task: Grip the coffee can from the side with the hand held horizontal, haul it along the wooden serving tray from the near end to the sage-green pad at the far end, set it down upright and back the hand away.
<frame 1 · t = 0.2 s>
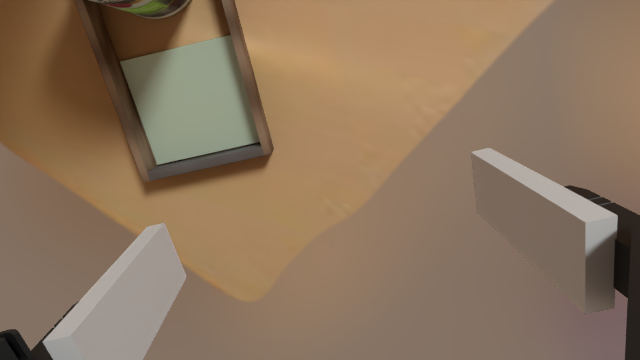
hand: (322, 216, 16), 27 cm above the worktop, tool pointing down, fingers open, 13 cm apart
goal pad: (193, 102, 41), resting in wooden serving tray
wooden serving tray: (172, 36, 39), on the worktop
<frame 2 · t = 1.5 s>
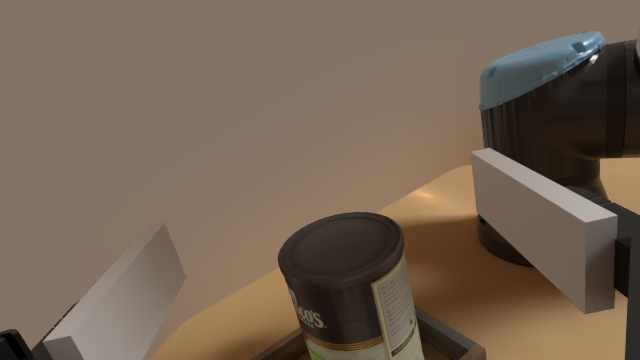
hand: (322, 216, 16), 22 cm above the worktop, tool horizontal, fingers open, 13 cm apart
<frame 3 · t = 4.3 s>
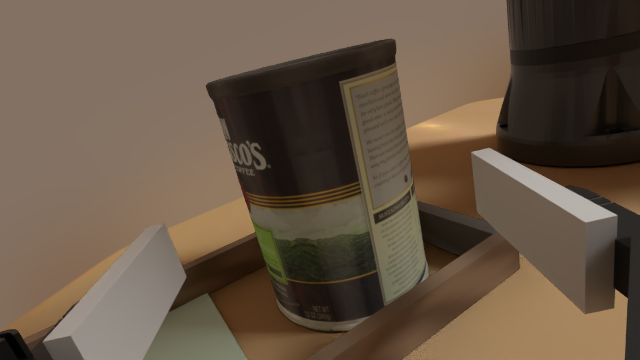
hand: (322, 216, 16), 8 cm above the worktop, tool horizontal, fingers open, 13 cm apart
coffee can: (351, 279, 25), resting in wooden serving tray
wooden serving tray: (255, 332, 22), on the worktop
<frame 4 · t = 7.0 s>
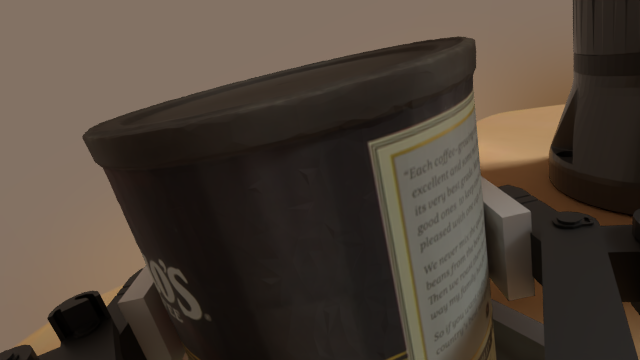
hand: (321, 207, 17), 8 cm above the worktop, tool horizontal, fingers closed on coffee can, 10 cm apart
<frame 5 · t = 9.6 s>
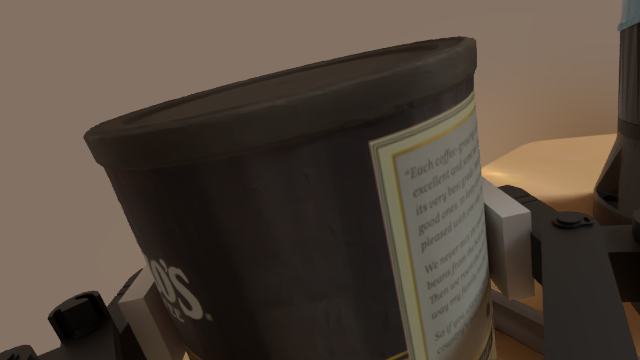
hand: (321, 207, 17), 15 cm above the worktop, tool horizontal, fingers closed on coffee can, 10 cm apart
when the fingers open (9 cm above the worktop, at t = 12.6 s): coffee can drops 1 cm, resting on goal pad.
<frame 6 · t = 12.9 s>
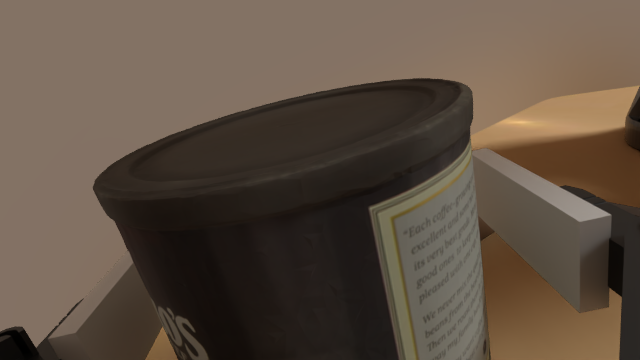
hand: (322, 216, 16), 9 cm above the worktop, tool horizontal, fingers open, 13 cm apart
wooden serving tray: (482, 356, 19), on the worktop
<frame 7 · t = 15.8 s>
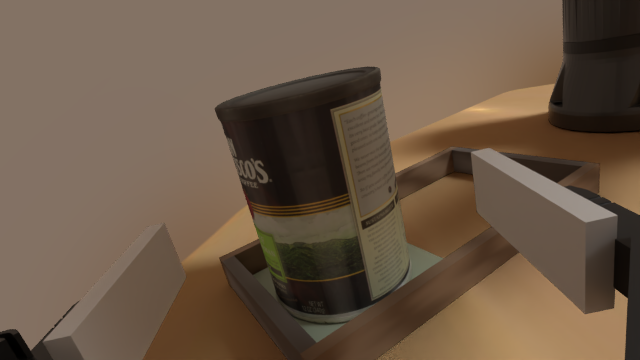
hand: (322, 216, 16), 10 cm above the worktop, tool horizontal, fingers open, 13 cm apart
coffee can: (344, 277, 28), resting on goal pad
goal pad: (346, 277, 28), resting in wooden serving tray
wooden serving tray: (413, 237, 31), on the worktop
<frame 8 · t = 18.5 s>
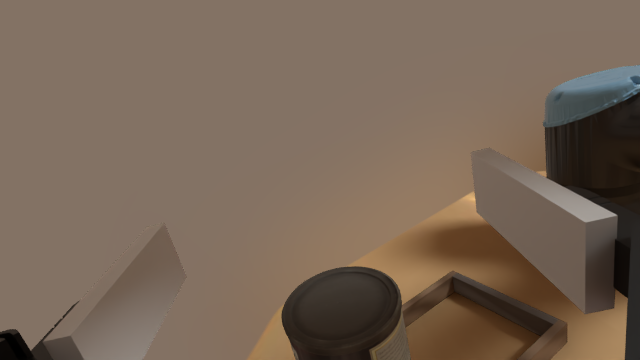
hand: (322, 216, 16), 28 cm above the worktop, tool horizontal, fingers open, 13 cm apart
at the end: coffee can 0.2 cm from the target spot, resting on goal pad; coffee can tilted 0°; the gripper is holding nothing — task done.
